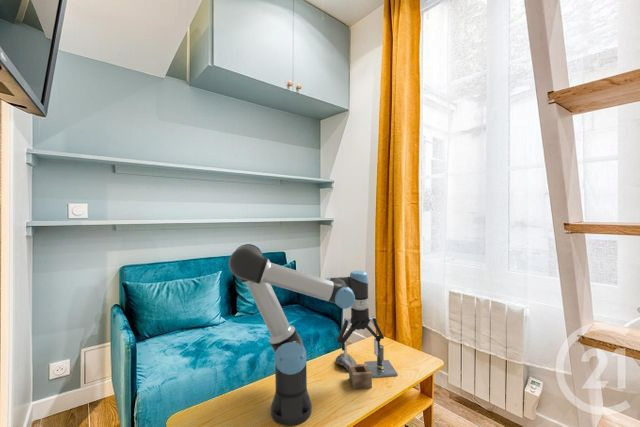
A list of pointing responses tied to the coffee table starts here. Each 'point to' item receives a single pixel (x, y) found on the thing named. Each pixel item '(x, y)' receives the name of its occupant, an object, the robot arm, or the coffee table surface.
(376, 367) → the knob on metal plate
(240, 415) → the coffee table surface
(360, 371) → the collar
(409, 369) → the coffee table surface
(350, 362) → the fossilized seashell
